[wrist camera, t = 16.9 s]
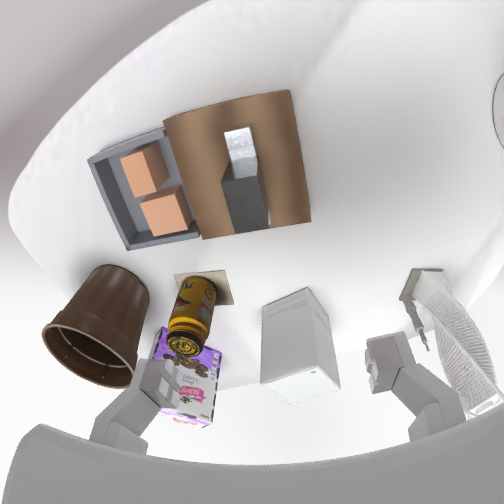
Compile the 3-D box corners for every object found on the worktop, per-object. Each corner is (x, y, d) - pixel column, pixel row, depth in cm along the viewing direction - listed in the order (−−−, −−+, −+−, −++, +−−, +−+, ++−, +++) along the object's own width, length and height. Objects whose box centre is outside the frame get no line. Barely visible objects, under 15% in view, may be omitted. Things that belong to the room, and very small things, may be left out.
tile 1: (181, 184, 35) (174, 194, 32) (193, 218, 37) (187, 229, 35) (147, 193, 35) (139, 203, 33) (160, 225, 38) (153, 236, 36)
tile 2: (142, 151, 27) (119, 158, 28) (156, 191, 30) (134, 197, 30) (157, 140, 31) (137, 147, 32) (169, 176, 34) (149, 181, 34)
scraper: (253, 122, 28) (248, 139, 20) (272, 211, 34) (274, 255, 26) (225, 128, 28) (210, 148, 21) (248, 215, 34) (243, 260, 27)
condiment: (173, 274, 44) (152, 332, 34) (224, 269, 43) (213, 330, 33) (187, 306, 48) (171, 362, 38) (234, 303, 47) (226, 362, 37)
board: (287, 89, 28) (289, 90, 25) (308, 210, 37) (311, 221, 34) (171, 116, 30) (162, 120, 28) (206, 228, 39) (202, 239, 36)
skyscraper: (415, 261, 41) (486, 414, 18) (449, 262, 40) (522, 397, 18) (398, 298, 45) (447, 442, 23) (432, 298, 45) (485, 426, 22)
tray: (173, 124, 31) (162, 130, 27) (204, 221, 38) (198, 237, 35) (102, 150, 32) (87, 159, 29) (137, 235, 40) (127, 250, 37)
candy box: (223, 352, 56) (214, 424, 42) (210, 363, 59) (200, 430, 45) (162, 325, 52) (139, 398, 38) (153, 338, 55) (132, 406, 41)
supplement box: (260, 306, 47) (257, 384, 35) (307, 285, 44) (319, 365, 32) (285, 334, 52) (288, 405, 39) (329, 317, 48) (342, 390, 36)
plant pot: (160, 264, 43) (125, 345, 30) (163, 327, 52) (142, 398, 39) (76, 246, 42) (27, 312, 29) (92, 309, 51) (61, 371, 38)
